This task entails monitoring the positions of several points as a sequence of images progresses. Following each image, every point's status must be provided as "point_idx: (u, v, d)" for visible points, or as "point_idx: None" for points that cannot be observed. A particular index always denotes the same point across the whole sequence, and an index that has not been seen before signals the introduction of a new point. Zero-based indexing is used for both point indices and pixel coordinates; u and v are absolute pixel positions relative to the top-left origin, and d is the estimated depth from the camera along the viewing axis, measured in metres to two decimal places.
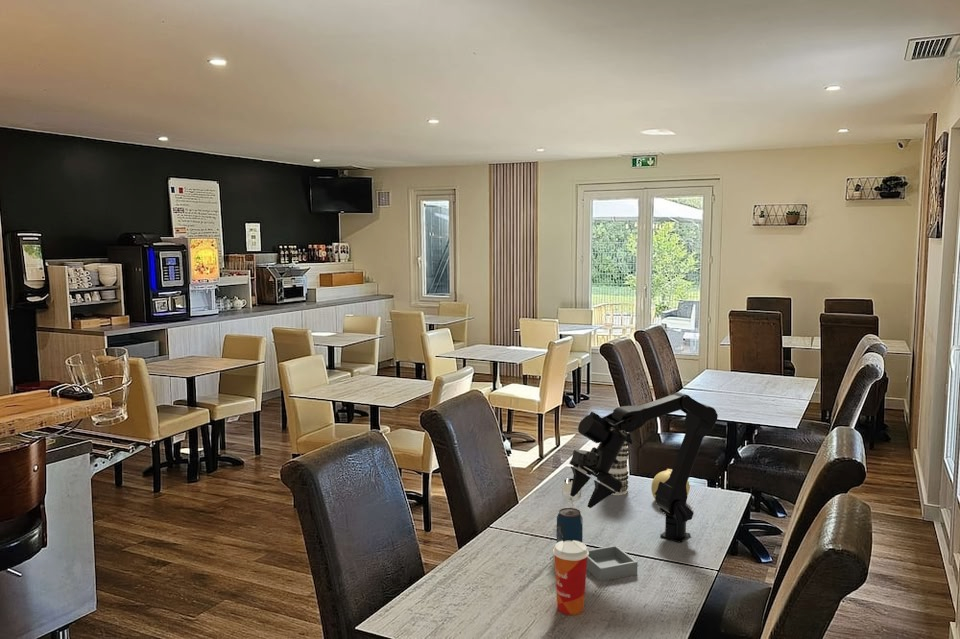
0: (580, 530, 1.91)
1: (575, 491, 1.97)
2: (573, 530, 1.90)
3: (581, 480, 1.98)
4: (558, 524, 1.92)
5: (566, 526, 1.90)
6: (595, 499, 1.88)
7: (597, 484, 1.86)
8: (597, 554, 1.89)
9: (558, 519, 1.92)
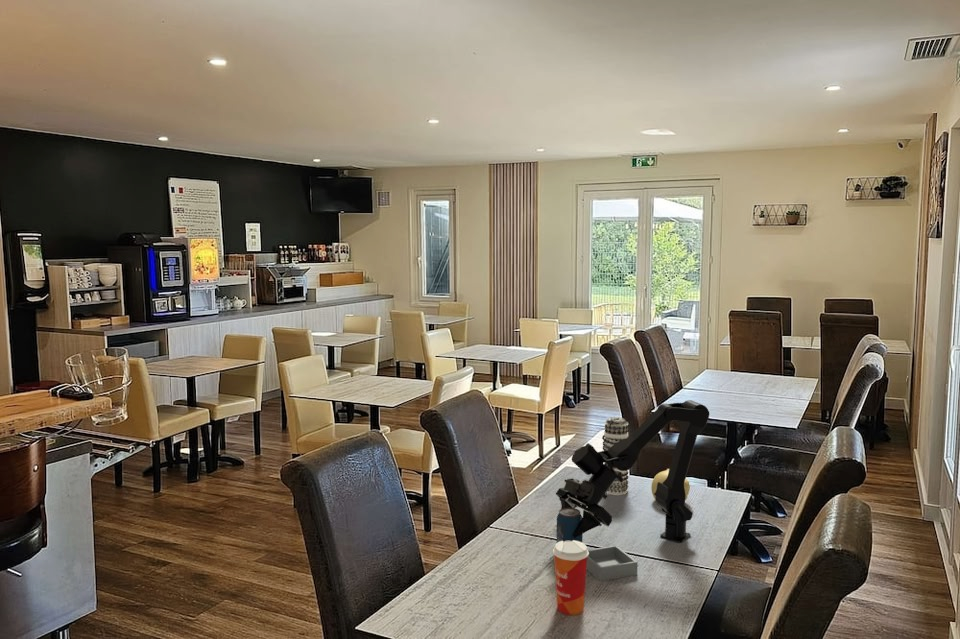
0: None
1: None
2: (573, 530, 1.90)
3: None
4: (558, 524, 1.92)
5: (566, 526, 1.90)
6: (581, 529, 1.89)
7: (586, 514, 1.88)
8: (597, 554, 1.89)
9: (558, 519, 1.92)
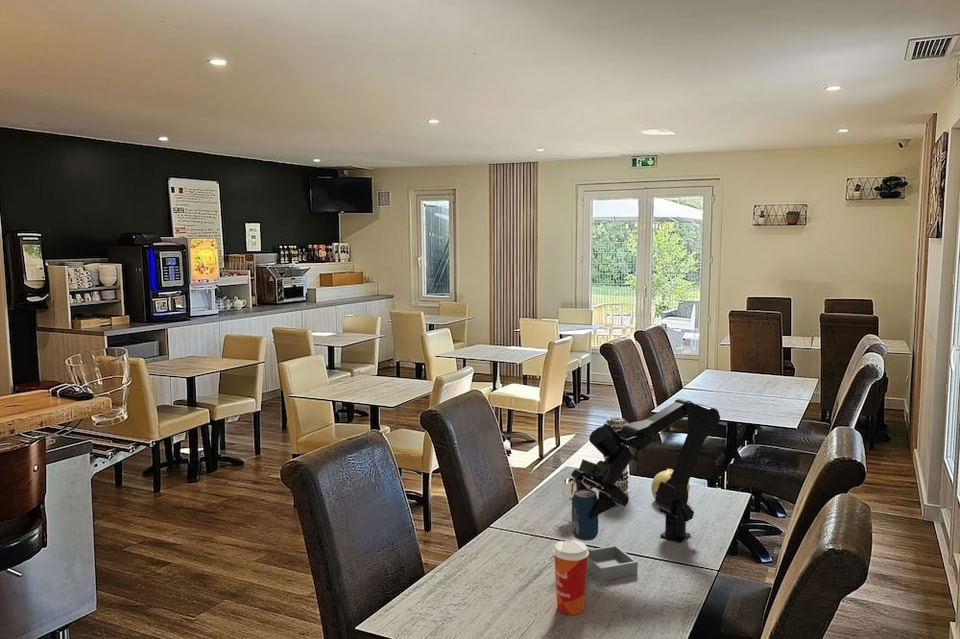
0: None
1: None
2: (589, 511, 1.86)
3: None
4: (573, 505, 1.88)
5: (582, 508, 1.86)
6: (597, 510, 1.85)
7: (602, 495, 1.84)
8: (597, 554, 1.89)
9: (573, 500, 1.88)
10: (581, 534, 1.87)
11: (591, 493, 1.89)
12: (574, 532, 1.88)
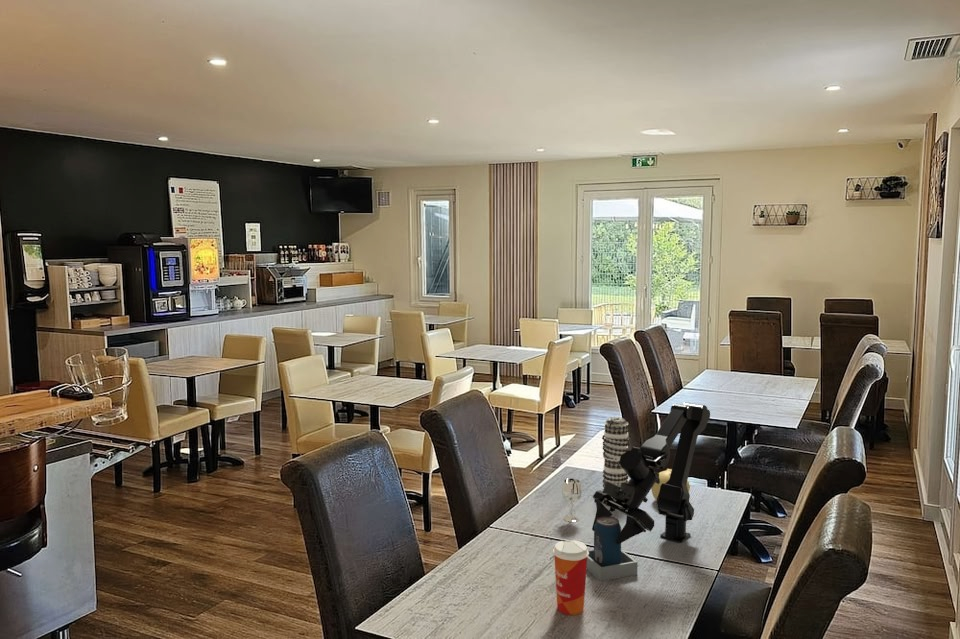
0: None
1: None
2: (613, 540, 1.81)
3: (604, 515, 1.89)
4: (596, 534, 1.83)
5: (605, 536, 1.81)
6: (624, 535, 1.79)
7: (630, 520, 1.78)
8: None
9: (596, 528, 1.83)
10: (605, 563, 1.82)
11: (613, 520, 1.85)
12: (597, 561, 1.84)
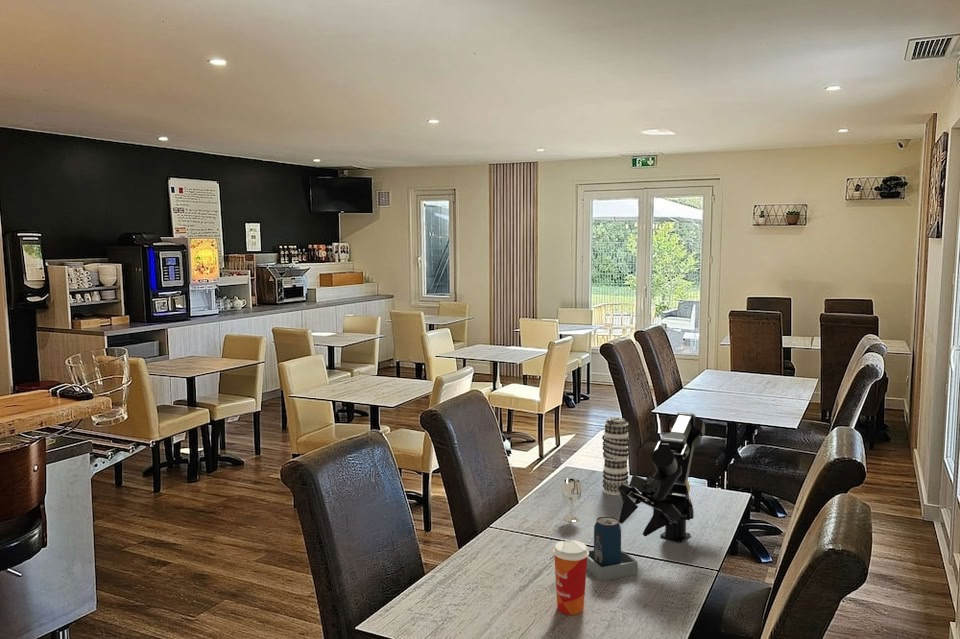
0: (619, 540, 1.83)
1: (623, 518, 1.92)
2: (613, 540, 1.81)
3: (630, 508, 1.94)
4: (596, 534, 1.83)
5: (605, 536, 1.81)
6: (652, 527, 1.84)
7: (657, 512, 1.83)
8: None
9: (596, 528, 1.83)
10: (605, 563, 1.82)
11: (613, 520, 1.85)
12: (597, 561, 1.84)
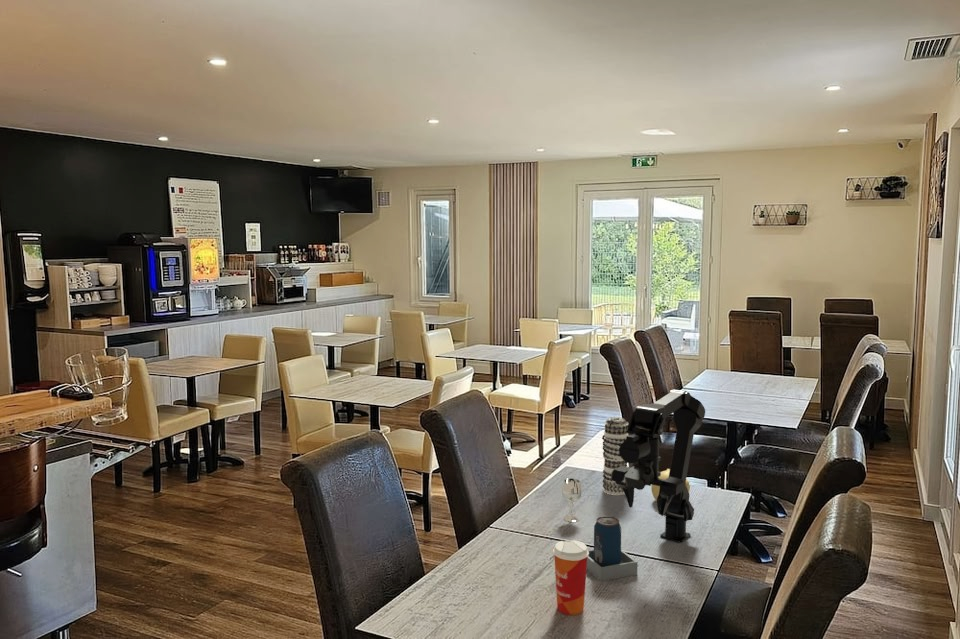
0: (619, 540, 1.83)
1: (631, 501, 1.93)
2: (613, 540, 1.81)
3: (631, 488, 1.93)
4: (596, 534, 1.83)
5: (605, 536, 1.81)
6: (666, 506, 1.86)
7: (666, 496, 1.83)
8: None
9: (596, 528, 1.83)
10: (605, 563, 1.82)
11: (613, 520, 1.85)
12: (597, 561, 1.84)
